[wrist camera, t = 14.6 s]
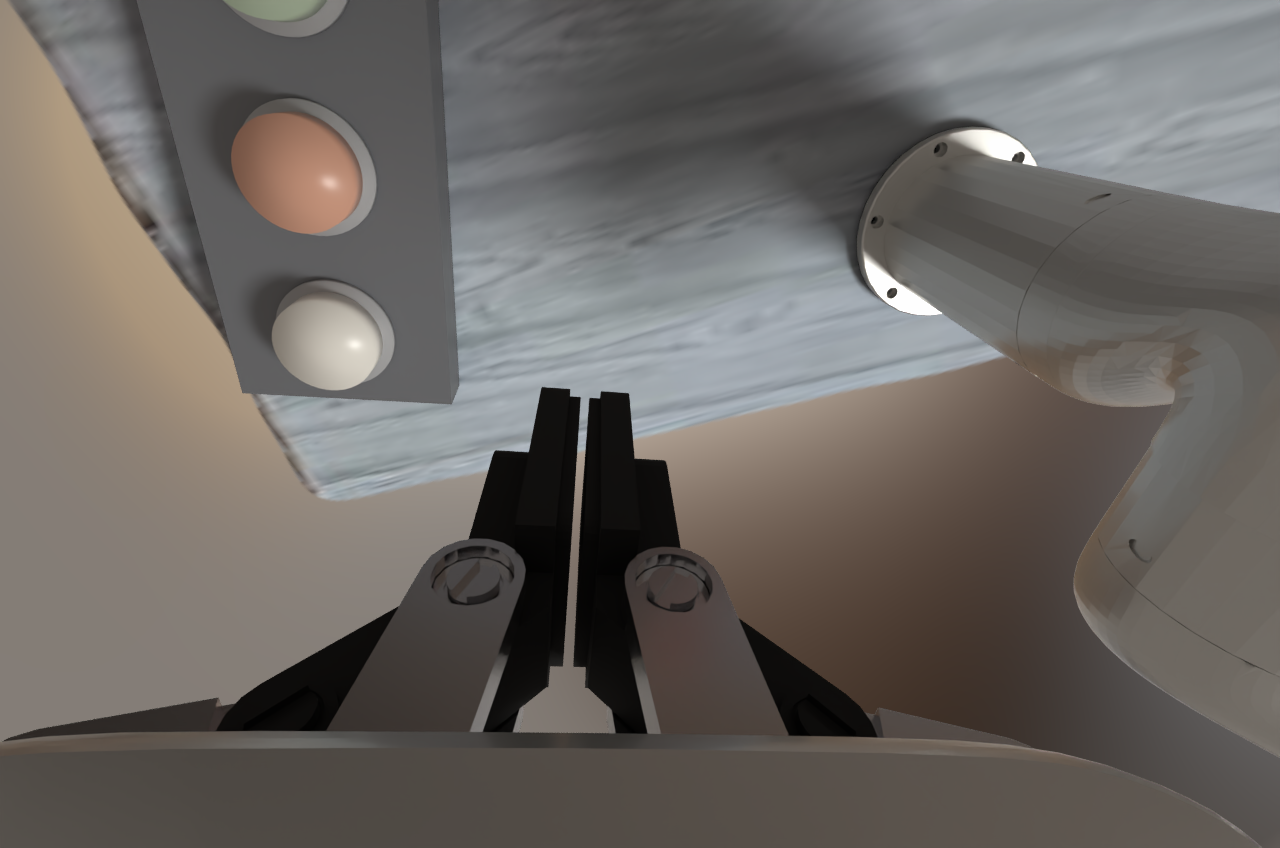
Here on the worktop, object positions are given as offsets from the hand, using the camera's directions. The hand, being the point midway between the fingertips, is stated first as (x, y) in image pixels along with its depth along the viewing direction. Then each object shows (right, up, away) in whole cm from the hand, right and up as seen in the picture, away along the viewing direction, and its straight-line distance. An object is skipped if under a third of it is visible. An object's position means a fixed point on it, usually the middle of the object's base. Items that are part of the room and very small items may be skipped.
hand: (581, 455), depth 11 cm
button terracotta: (-18, +15, +22) cm, 32 cm away
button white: (-19, +7, +27) cm, 34 cm away
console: (-18, +17, +24) cm, 35 cm away
